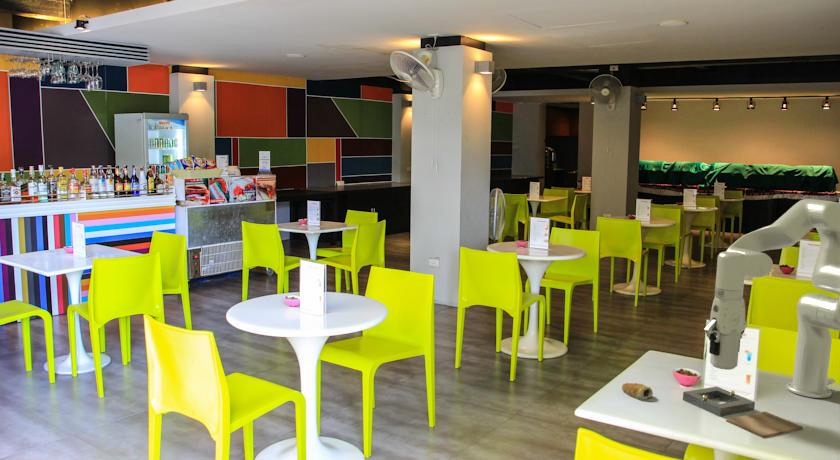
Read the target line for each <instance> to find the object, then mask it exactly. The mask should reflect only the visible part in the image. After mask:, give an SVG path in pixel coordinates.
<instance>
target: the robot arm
mask: <svg viewBox="0 0 840 460" xmlns="http://www.w3.org/2000/svg"><path fill="white" fill-rule="evenodd" d="M813 229H816V232H817V233H818V235H819V240H820V246H819V249H818V254H817V258H816V260H815V263H814V267H813V270H812V275H811V283H812V285H813V286H814V287H815V288H816V289H818V290H821V291H825V292H829V293H833V294H837V295H838V298H837V297H833V296H830V295H827V294H826V295H825V294H821V293H817V292H816V293H814V292H811V293H810V292H809V293H806V294H804V295H802V296H801V297H800V298H799V300H798V302H797V303H796V313H797V315H796V316H797V324H798V325H797V338H796V347H795V348H796V349H795V355H794V366H793V376H792V381H789V382H788V383H786V389H787V390H788V391H789V392H791V393H794V394H797V395H799V396H803V397H805V398H812V399H813V398H815V399H827V398H830V397H831V396H832V391H831V390H830V388H828V386H829V385H833V384H835V382H836V381H835V378H833V377H829V378H828V376H829V375H828V374H829V368H830V367H829V366H830V357H831V350H832V343H833V342H832V334H831V332H830V330H834V331H837V332H840V202H837V201H832V200H824V199H816V198H815V199H814V198H804V199H801V200H799V201H798V202H796V203H795V204H793V205H792V206H791V207H790V208H789V209H788V210H786V212H784V213H783V214H782V215H781V216H780V217H779V218H778V219H777V220H775V221H774V222H773V223H771V224H770V225H767V226H763V227H761V228H758V229H756V230H753V231H751V232H749V233H746V234H744V235H742V236H740V237H739V238H738V239H736V241H734V242H733V243H732V244H731V245H730V246H729V247H728V248H727V249H726V250H725V251H722V252H719V254H718V255H717V260H716V261H717V262H716V276H715V285H714V286H715V288H714V298H713V301H712V306H711V310H710V315H709V316H710V317H709V323H708V324H707V326H705V328H703V329H704V332H705V334H706V337H708V340H709V350H708V353H709V354H710V355H711V354H714V355H716V356H718V355H719V353H720V342H719V340H720V338H721V335H722V334H723V335H727V334H730V333H731V330H737V332H738V333H740V340H739V351H740V346H741V339H742V338H743V335H744V333H745V331H746V328H747V327H748V322H747V321H746V305H745V304H746V302H745V299H744V298H743V297H744V284H745V278H746V277H747V278H750V277H751V278H757V279H759V278H763V277H766V276H768V275H769V274H770V273H771V272H772V270H773V266H774V264H773V259H772V258H771V257H770V255H768V254H767V253H764V252H765V251H770V250H771V251H772V250H780V249H786V248H791V247H793V246H794V245H796V244H797V243H798V241H800V240H801V239H802V238H803V237H804V236H805V235H807V233H809V232H810V231H811V230H813ZM716 330H718V331H716ZM715 333H717V336H715Z"/></svg>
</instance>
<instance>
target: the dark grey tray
mask: <svg viewBox="0 0 840 460" xmlns="http://www.w3.org/2000/svg"><path fill="white" fill-rule="evenodd" d="M713 399H717V400H720V401H722V403H719V402H717V401H714V400H713ZM682 401H684V402H685V403H686V402H687V403H689V404H691V405H693V406H696V407H698V408H699V409H702V410H705V411H706V412H709V413H711V414H713V415H715V416H717V417H720V418H721V417H725V416H731V415H738V414H741V413H747V412H751V411H755V406H756V401H754V400H751V399H748V398H746V397H744V396H741V395H738V394H736V393H735V390H730V391H729V390H727V389H723V387H720V386H712V387H706V388H705V387H704V388H699V389H694V390H693V389H692V390H686V391H683V393H682Z"/></svg>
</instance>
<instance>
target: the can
mask: <svg viewBox="0 0 840 460" xmlns="http://www.w3.org/2000/svg"><path fill="white" fill-rule="evenodd" d="M716 331H718V330H716ZM715 336H717V333H715ZM739 340H740V341H741V339H740V333H738V332H737V330H731V333H730V334H727V335H723V334H722V335H721V338H720V340H719V342H720V353H719V355H718V356H716V355H714V354H711V353H710V357H709V358H710V360H709V363H710V364H711V365H712V367H714V368H717V369H720V370H725V371H726V370H733V369H735V368H736V367H738V364H739V363H738V362H739V352H740V350H739Z"/></svg>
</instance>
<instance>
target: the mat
mask: <svg viewBox="0 0 840 460" xmlns="http://www.w3.org/2000/svg"><path fill="white" fill-rule="evenodd" d="M725 421H726V422H727V423H729V424H731V425H734V426H735V427H739V428H741V429H742V430H745V431H746V432H749V433H751V434H753V435H756V436H757V437H761V438H762V439H763V438H767V437H773V436H777V435H783V434H786V433H791V432H795V431H800V430H803V429H804V426H801V425H799V424H797V423H795V422H792V421H790V420H788V419H784V418H782V417H780V416H777V415H775V414H773V413H770V412H769V411H760V412H756V413H751V414H746V415H740V416H735V417H729V418H726V419H725Z"/></svg>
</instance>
